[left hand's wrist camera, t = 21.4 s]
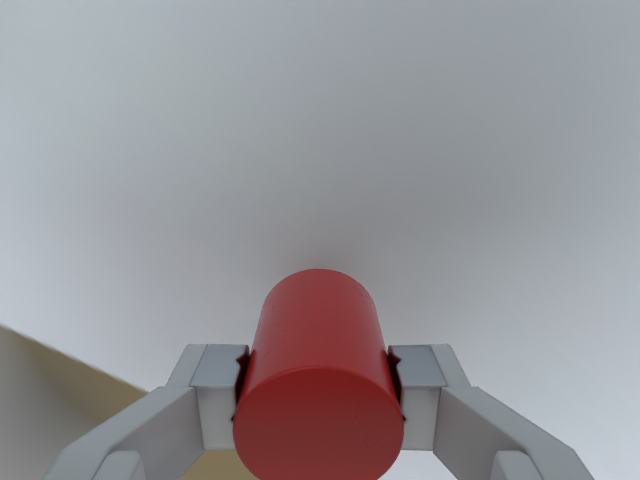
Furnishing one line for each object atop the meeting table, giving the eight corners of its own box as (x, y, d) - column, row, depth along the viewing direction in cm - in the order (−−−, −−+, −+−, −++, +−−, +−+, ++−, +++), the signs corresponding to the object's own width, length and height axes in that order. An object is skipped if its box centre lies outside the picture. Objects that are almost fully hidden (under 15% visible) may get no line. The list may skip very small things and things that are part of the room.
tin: (388, 352, 13) (420, 479, 9) (282, 379, 13) (265, 513, 9) (359, 254, 12) (381, 347, 8) (244, 286, 12) (204, 391, 8)
